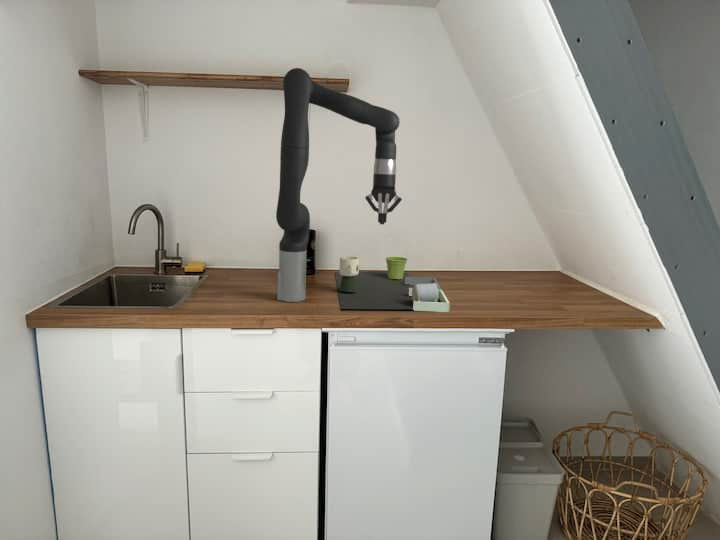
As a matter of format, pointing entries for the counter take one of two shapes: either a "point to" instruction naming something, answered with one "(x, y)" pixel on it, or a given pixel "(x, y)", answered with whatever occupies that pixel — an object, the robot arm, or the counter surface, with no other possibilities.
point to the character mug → (348, 273)
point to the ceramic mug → (425, 292)
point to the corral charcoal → (420, 281)
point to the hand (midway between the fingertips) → (382, 224)
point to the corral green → (432, 304)
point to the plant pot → (395, 267)
